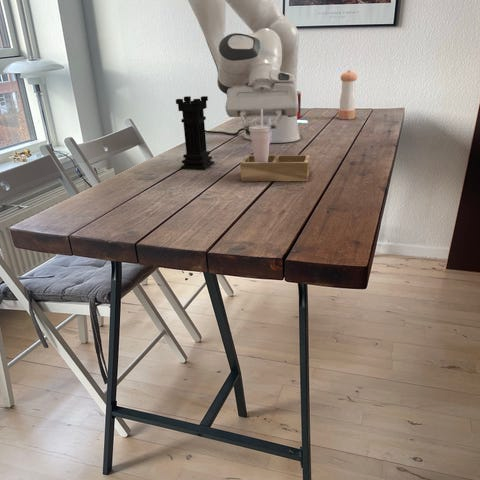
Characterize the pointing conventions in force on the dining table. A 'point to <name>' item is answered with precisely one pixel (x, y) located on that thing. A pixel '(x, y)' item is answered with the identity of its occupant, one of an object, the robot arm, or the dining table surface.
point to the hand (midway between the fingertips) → (260, 127)
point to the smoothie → (260, 140)
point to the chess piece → (194, 133)
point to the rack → (276, 168)
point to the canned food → (299, 103)
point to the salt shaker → (347, 96)
